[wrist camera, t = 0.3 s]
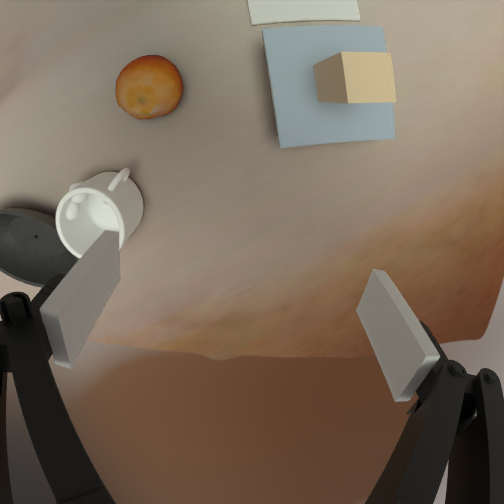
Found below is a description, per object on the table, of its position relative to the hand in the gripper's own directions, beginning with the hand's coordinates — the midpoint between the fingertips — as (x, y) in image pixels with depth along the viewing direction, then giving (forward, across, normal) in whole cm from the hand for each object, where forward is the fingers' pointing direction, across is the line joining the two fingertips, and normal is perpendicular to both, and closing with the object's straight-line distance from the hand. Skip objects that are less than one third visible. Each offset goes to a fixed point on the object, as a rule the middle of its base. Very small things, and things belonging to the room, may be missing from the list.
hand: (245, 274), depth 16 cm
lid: (+20, +7, +12) cm, 25 cm away
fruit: (+28, -13, +8) cm, 32 cm away
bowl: (+28, -31, -15) cm, 44 cm away
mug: (+28, -17, -7) cm, 33 cm away
